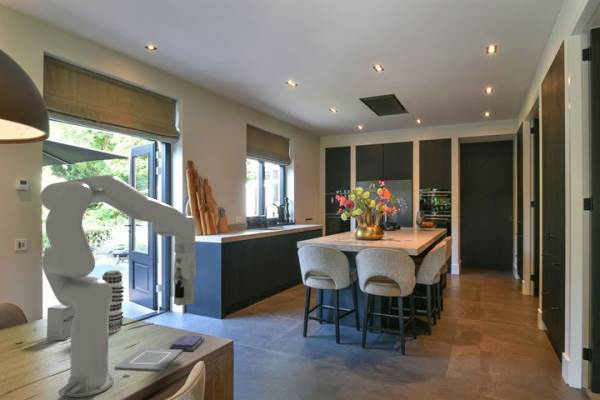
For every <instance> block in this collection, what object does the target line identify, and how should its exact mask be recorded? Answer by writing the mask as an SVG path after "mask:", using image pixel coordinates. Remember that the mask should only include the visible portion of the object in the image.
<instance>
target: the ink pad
mask: <svg viewBox="0 0 600 400" xmlns="http://www.w3.org/2000/svg"><path fill="white" fill-rule="evenodd" d="M204 342H205V337H203V336H200V335H182V336H180V337H178V339H176V340H175V341H174V342H173V343H171V344H170V346H169V349H177V350H183V352H185V351H187V352H190V351H191V352H195V351H196V349H197V348H199V346H201V345H202V343H204Z"/></svg>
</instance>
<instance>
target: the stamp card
mask: <svg viewBox="0 0 600 400" xmlns="http://www.w3.org/2000/svg"><path fill="white" fill-rule="evenodd" d="M183 352H184V351H183V350H177V349H168V348H152V347H151V348H146V347H140V349H138V350H137V351H135V352H134V353H133V354H131V355H129V356H128V357H126V359H124V360H122V361H121V362H120V363H118V364H117V365H115V366H114V369H115V370H132V371H135V370H136V371H157V372H162V371H164V369H166V368H167V367H168V366H169V365H170V364H171V363H172V362H173V361H175V360H176V358H178V357H179V356H180V355H181V354H182V353H183Z"/></svg>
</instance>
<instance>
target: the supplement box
mask: <svg viewBox="0 0 600 400" xmlns="http://www.w3.org/2000/svg"><path fill="white" fill-rule="evenodd" d="M75 312H76V309H75V308H71V307H67V306H65V305H63V304H61V303H60V304H56V305H52V306H48V307H47V313H46V314H47V317H46V318H47V320H46V321H47V323H46V339H47V340H55V341H63V340H65V339H67V338H69V337H70V338H71V325H72V321H73V318H74V315H75Z"/></svg>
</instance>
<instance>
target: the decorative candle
mask: <svg viewBox="0 0 600 400" xmlns="http://www.w3.org/2000/svg"><path fill="white" fill-rule="evenodd" d="M123 275H124V273H121V271H120V270H109V271H105V272H104V274H103V275H101V277H102V279H103V280H105V281H106V282H107V283H109V285H110V286H111V288H112V301H111V306H110V311H109V334H112V333H117V332H119V331H121V330H123V325H124V323H123V322H124V316H123V315H124V311H123V307H122V305H123V304H122V303H123V302H124V294H123V293H124V292H125V290H123V289H125V287H124V286H123Z"/></svg>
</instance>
